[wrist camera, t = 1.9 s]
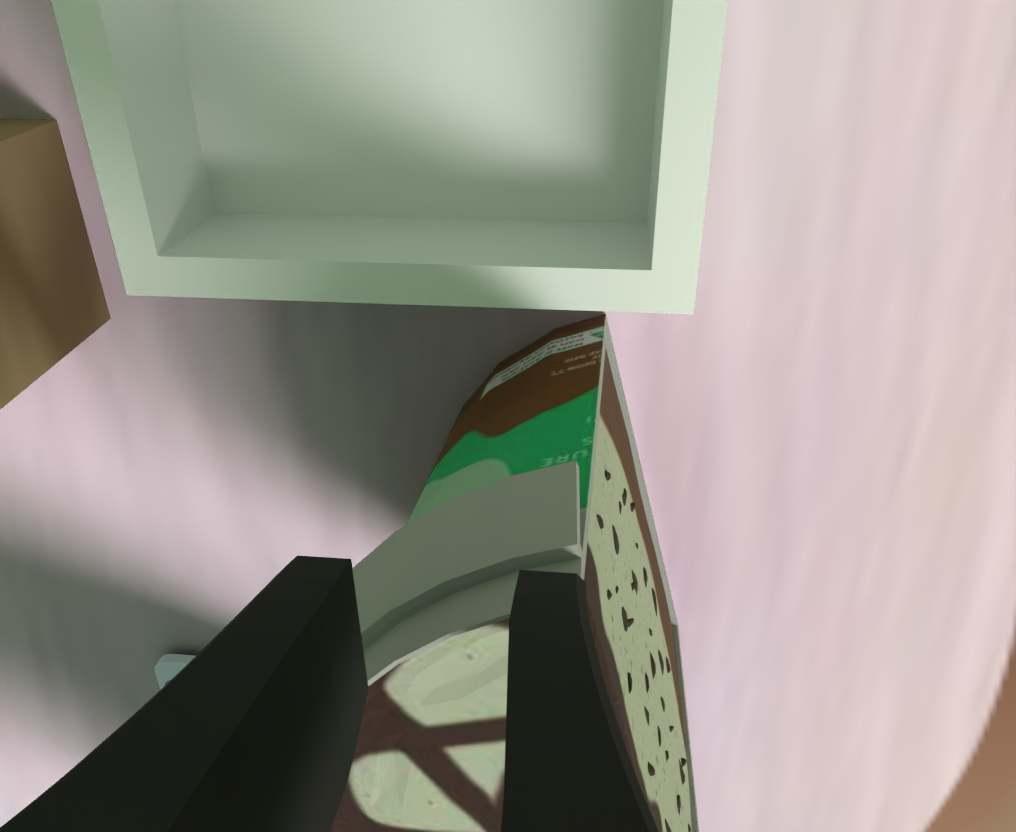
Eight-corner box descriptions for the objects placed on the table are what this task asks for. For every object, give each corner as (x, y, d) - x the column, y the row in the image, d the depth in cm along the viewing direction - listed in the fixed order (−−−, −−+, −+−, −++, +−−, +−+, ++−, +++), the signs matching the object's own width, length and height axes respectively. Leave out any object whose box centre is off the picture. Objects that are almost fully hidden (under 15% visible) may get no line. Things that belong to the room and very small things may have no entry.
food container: (323, 308, 19) (94, 629, 11) (591, 249, 18) (570, 562, 9) (476, 687, 25) (405, 1089, 17) (687, 664, 24) (728, 1090, 15)
